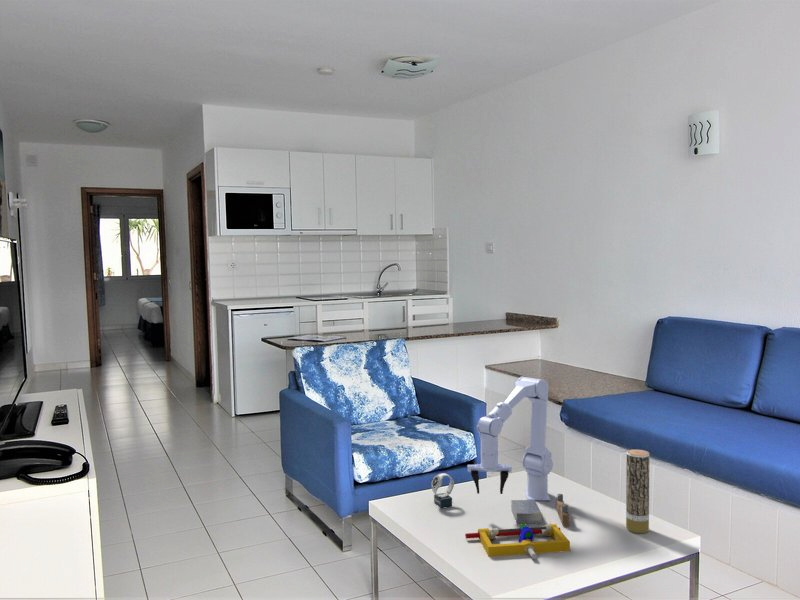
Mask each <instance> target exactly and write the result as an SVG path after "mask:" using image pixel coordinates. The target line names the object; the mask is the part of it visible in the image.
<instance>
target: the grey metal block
mask: <svg viewBox="0 0 800 600" xmlns="http://www.w3.org/2000/svg"><path fill="white" fill-rule="evenodd" d="M510 503H511V505H510V506H511V507H510V508H511V510H510V511H511V513H512V515H513V518H514V521H515V520H516V521H515V524H516V525H517V524H529V525H542V523H543V522H542V519H543V518H542V514H543V513H542V511H541V510H540V508H539V506H538V504H537V501H536V500H527V499H515V500H514V499H512V500H511V501H510Z"/></svg>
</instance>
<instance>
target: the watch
mask: <svg viewBox="0 0 800 600" xmlns="http://www.w3.org/2000/svg"><path fill="white" fill-rule="evenodd" d="M444 477H448V478H449V479H450V480H449V484H448V486H447V489H446V490H445V492H443V493H437V492H438V489H440V488H441V487H442V482H443V479H444ZM430 487H431V490H432V492H433V498H434V499H433V503H434V505H436V506H437V505H438V506H439V507H438V508H439V509H445V508H444V507H447V508H451V507H450V506H452V507H453V498H452V496H450V495H451V493H452V492H453V489H454V487H455V481H454V479H453V477H452V476H450V475H449V474H447V473H445V472H444V473H438V474H437V475H435V476H434V477H433V478H432V480H431V484H430Z"/></svg>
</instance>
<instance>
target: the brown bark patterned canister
mask: <svg viewBox="0 0 800 600" xmlns="http://www.w3.org/2000/svg"><path fill="white" fill-rule="evenodd" d="M625 465H626V468H625V469H626V472H625V473H626V480H625V481H626V482H625V483H626V484H625V485H626V486H625V487H626V490H625V493H626V498H625V499H626V500H625V503H626V505H625V506H626V507H625V511H626V512H625V513H626V514H625V515H626V518H625V520H626V521H625V522H626V523H625V527H626V529H627V530H628V531H629V532H631V533H634V534H646V533H648V531H649V527H650V452H649V451H647V450H643V449H634V448H633V449H628V450H626V464H625Z"/></svg>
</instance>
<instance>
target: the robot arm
mask: <svg viewBox="0 0 800 600" xmlns="http://www.w3.org/2000/svg"><path fill="white" fill-rule="evenodd" d="M549 386H550V384H549V383H548V382H547V381H546V380H545V379H543V378H542V379H540V378H534V377H528V376H527V377H526V376H524V375H523V376H520V377H518V379H517V380H516V381H515V384H514V389H513V390H512V391H511V393H510V394H509V395H508V396H507V398H506V399H505V400H504V401H502V402H501V401H500V402H498V403H497V404H496V405H495V406H494V408H493V409H492V410H491V411H489V413H488V414H487V415H486V416H485V415H484V416H482V417H480V418H479V420H478V421H477V425H476V430H477V432H478V437H479V439H480V463H476V464H475V463H474V464H467V472H468V473H470V476H471V478H472V480H473V483H474V485H475V488H476V495H477V494H479V495H480V484H479V482H480V479H479V477H480V476H479V472H481V473H483V472H484V473H485V472H486V473H487V472H489V473H494V472H495V473H498V472H499V474H500V475H499V476H500V481H499V482H500V484H499V494H500V495H503V492H504V488H505V484H506V483H507V480H508V478H509V473H513V472H512V469H513V468H512V464H503V463H501V464H500V463H499V435H500V434H501V432H502V429H503V426H504V423H506V421H507V420H508V419H509V418H510V417H511V416H512V412H513V410H512V409H514V408H515V407H516V406H517V405H518V404H519V403H521V401H522V400H523V399H525V398H527V399H528V400H529V401H530V403H531V415H530V416H531V417H530V418H531V419H530V435H529V436H530V437H529V446H527V447H526V448H525V449H524V451H523V452H524V453H523V456H522V460H521V463H522V464H521V465H522V467H523V468H524V469H525V472H526V476H527V477H526V478H527V479H526V480H527V482H526V483H527V484H526V485H527V487H526V489H524V493H525V496H526V500H535V501H551V497H550V495H549V492H548V491H549V490H548V489H549V488H548V487H549V485H548V481H549V480H548V478H549V477H548V475H549V474H550V473H551V472H552V470H553V465H554V464H553V463H554V462H553V459H552V452H551V451H550V449H548V447H546V434H547V433H546V432H547V431H546V430H547V412H548V410H547V409H548V408H547V407H548V401H549V389H550V388H549Z"/></svg>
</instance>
